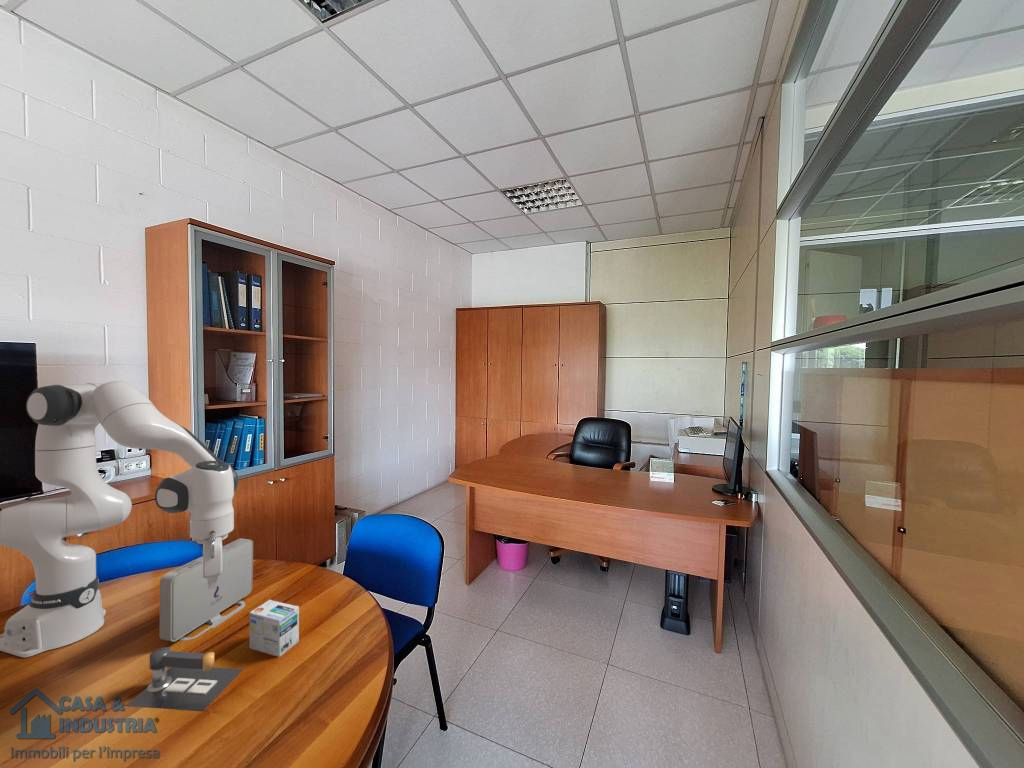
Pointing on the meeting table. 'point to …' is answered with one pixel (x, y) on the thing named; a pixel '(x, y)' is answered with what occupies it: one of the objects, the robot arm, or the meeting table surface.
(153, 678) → the pivot post
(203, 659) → the dark grey lever handle
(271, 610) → the light bulb box
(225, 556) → the network device
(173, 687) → the psu label
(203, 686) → the white flat rectangle
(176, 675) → the dark grey flat plate
